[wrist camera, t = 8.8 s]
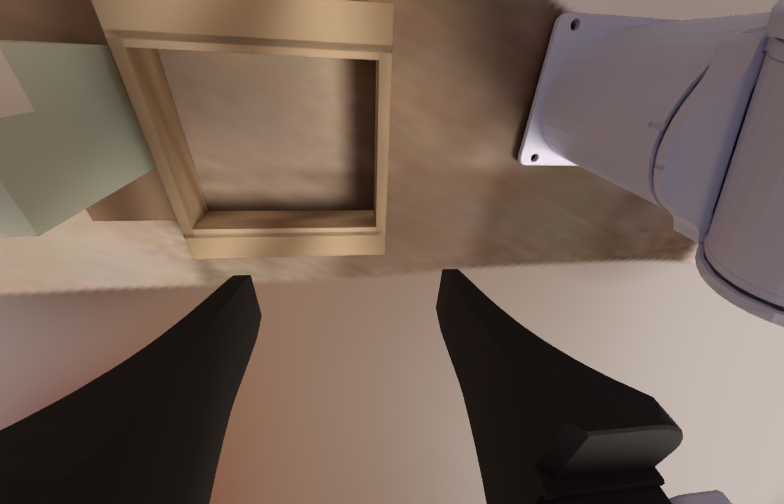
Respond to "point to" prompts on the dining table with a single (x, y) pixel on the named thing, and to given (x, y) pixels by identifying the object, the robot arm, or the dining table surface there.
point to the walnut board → (81, 26)
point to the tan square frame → (255, 36)
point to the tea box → (62, 133)
